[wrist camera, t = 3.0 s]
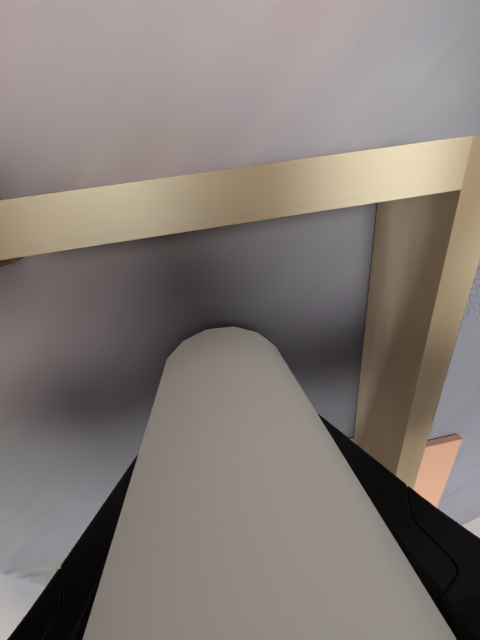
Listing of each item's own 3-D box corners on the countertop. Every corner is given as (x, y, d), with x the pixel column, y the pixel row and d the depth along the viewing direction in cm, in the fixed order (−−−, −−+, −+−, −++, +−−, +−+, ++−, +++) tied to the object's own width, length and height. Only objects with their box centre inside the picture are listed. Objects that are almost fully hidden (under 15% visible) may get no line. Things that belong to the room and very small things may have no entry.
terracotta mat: (457, 434, 17) (462, 438, 17) (426, 520, 22) (430, 525, 22) (304, 469, 17) (306, 474, 16) (306, 550, 21) (308, 556, 21)
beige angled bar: (411, 153, 9) (516, 129, 6) (369, 446, 17) (409, 503, 14) (38, 205, 8) (-57, 207, 5) (164, 492, 16) (156, 565, 13)
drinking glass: (124, 342, 10) (-431, 1363, 1) (281, 297, 10) (809, 924, 1) (181, 448, 13) (138, 974, 4) (302, 411, 13) (515, 848, 4)
